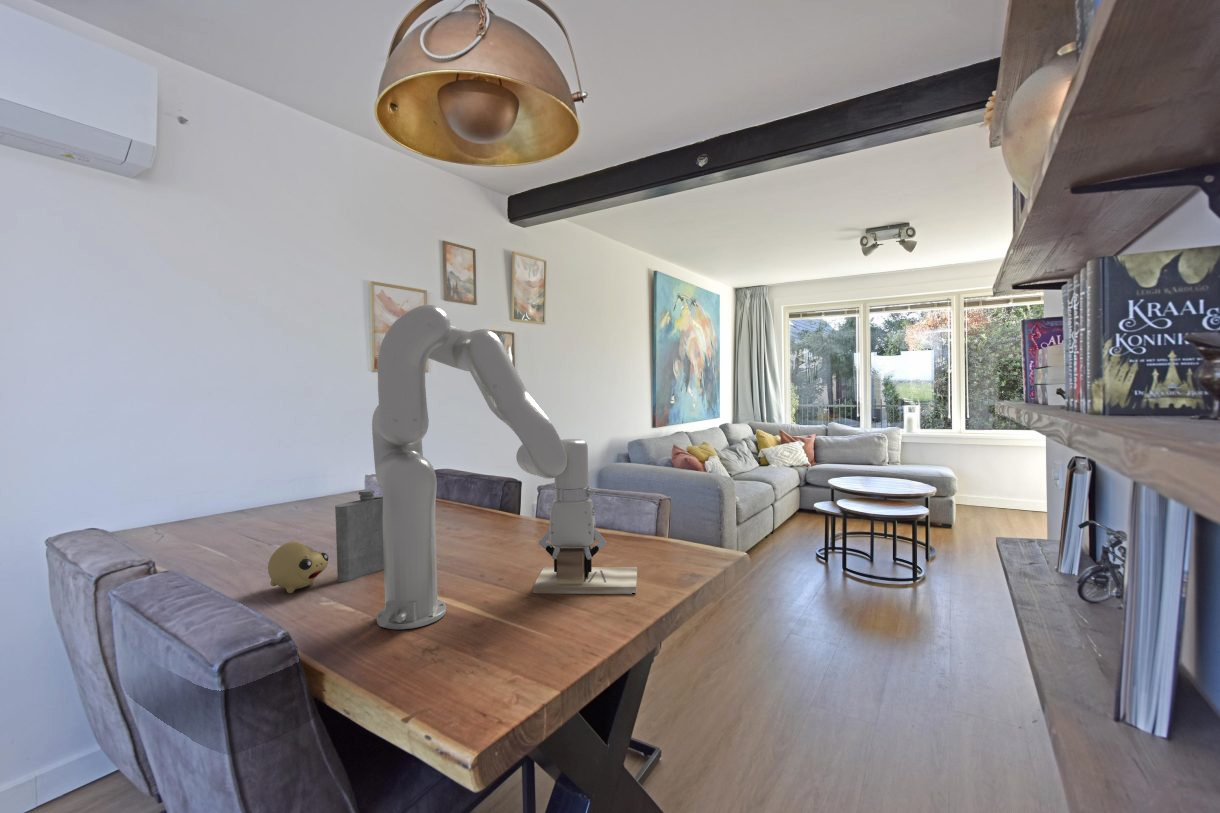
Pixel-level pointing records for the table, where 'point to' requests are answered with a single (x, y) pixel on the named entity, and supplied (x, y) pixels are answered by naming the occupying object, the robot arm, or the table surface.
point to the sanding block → (570, 565)
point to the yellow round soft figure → (295, 566)
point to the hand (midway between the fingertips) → (573, 574)
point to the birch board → (591, 582)
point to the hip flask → (359, 536)
